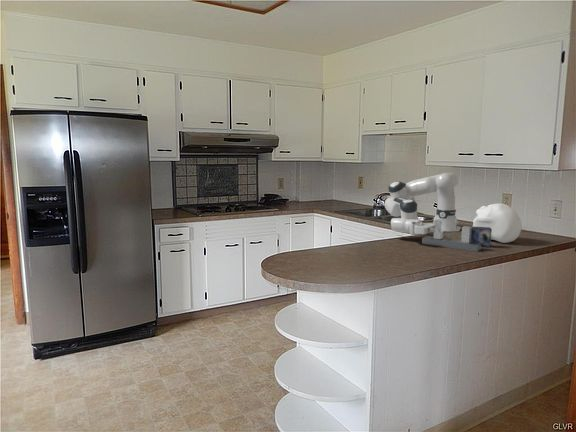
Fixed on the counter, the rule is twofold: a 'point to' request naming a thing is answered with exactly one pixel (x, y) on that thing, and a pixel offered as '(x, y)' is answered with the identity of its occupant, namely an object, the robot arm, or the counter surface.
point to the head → (499, 222)
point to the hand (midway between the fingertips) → (440, 229)
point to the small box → (481, 235)
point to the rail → (455, 241)
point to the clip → (439, 225)
